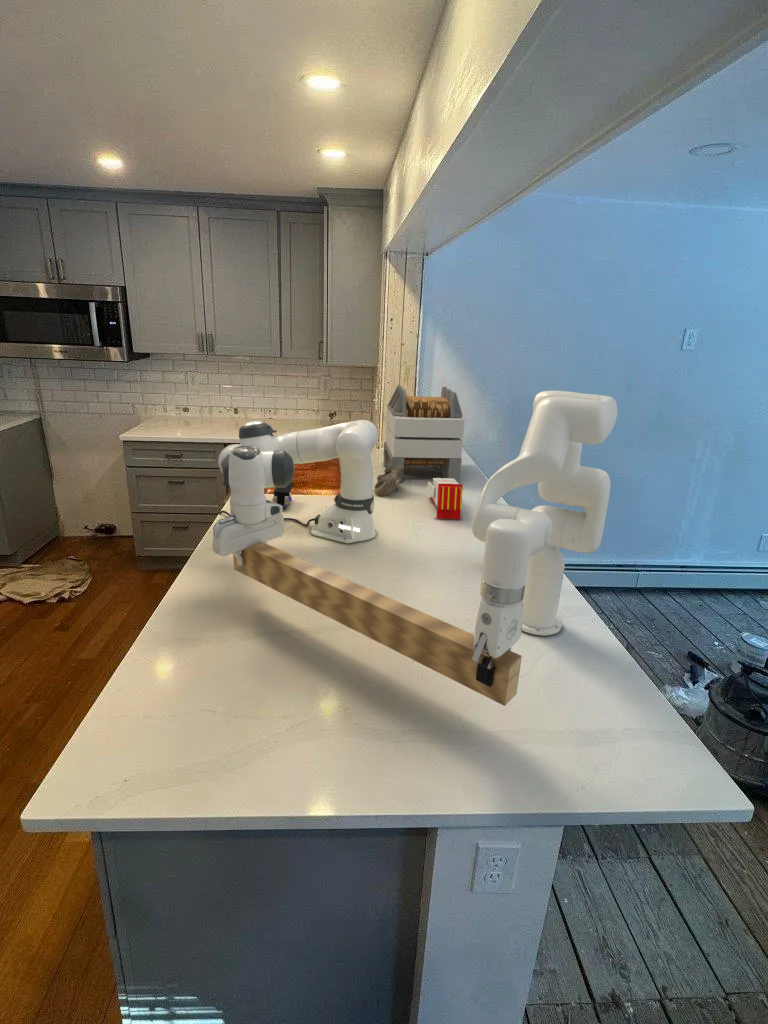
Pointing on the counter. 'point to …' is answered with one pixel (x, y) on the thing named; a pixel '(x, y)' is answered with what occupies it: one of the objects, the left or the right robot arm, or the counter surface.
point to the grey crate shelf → (424, 432)
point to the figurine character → (283, 495)
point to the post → (381, 619)
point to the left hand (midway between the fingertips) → (250, 560)
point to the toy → (446, 497)
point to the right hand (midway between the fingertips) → (491, 675)
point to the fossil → (388, 480)
